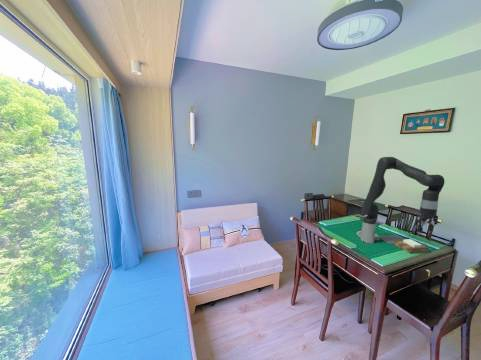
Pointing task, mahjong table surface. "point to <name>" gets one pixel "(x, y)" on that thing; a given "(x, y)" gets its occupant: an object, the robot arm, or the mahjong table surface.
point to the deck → (411, 249)
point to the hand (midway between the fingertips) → (424, 231)
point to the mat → (390, 238)
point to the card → (412, 243)
